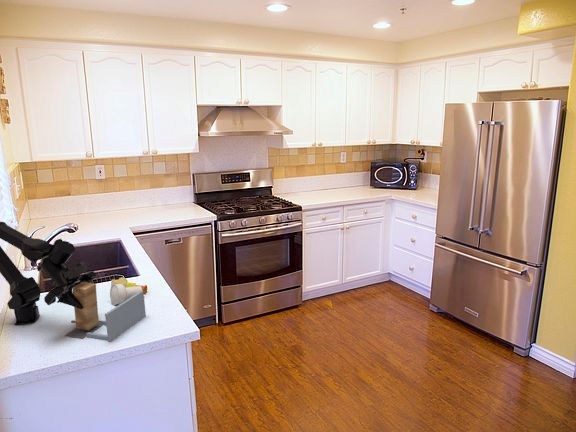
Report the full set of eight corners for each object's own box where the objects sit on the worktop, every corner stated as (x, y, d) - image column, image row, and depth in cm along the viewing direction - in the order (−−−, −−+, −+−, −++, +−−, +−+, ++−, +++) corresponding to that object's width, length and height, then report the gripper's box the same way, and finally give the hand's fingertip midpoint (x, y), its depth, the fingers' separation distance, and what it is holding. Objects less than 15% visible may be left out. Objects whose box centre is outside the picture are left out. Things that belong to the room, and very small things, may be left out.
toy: (119, 275, 181) (108, 281, 171) (152, 278, 180) (143, 284, 170) (118, 287, 181) (108, 294, 171) (151, 290, 181) (143, 297, 171)
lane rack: (85, 338, 138) (81, 310, 135) (122, 313, 155) (120, 288, 153) (110, 342, 135) (107, 314, 133) (145, 316, 153) (143, 291, 150)
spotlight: (107, 299, 165) (110, 280, 163) (134, 296, 173) (137, 278, 171) (115, 309, 160) (118, 290, 158) (142, 305, 168) (146, 287, 166)
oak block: (66, 325, 143) (62, 285, 139) (77, 319, 147) (74, 280, 144) (88, 330, 140) (84, 289, 137) (98, 323, 145) (95, 283, 141)
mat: (64, 336, 139) (64, 335, 139) (90, 320, 150) (90, 319, 150) (82, 339, 137) (82, 338, 137) (107, 322, 148) (107, 321, 148)
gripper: (46, 266, 130) (79, 303, 130) (89, 249, 147) (118, 281, 147) (30, 287, 134) (62, 322, 133) (74, 267, 151) (102, 299, 151)
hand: (88, 305), depth 141 cm, fingers closed on oak block, 5 cm apart
